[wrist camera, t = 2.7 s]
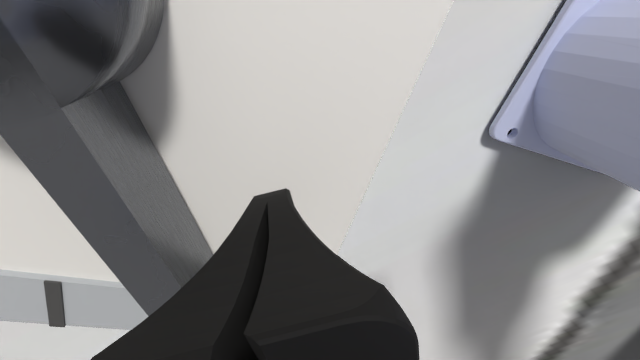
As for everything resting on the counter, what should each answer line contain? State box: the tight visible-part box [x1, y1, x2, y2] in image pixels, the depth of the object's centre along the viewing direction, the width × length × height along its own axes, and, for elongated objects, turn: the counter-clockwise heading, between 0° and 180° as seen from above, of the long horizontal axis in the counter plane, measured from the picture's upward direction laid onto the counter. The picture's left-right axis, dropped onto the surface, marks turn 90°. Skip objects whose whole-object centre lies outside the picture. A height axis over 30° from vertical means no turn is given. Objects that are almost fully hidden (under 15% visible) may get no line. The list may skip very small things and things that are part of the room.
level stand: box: [0, 0, 454, 330], centre depth 11 cm, size 18×20×2 cm
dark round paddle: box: [0, 0, 213, 316], centre depth 9 cm, size 18×7×3 cm, turn 11°
